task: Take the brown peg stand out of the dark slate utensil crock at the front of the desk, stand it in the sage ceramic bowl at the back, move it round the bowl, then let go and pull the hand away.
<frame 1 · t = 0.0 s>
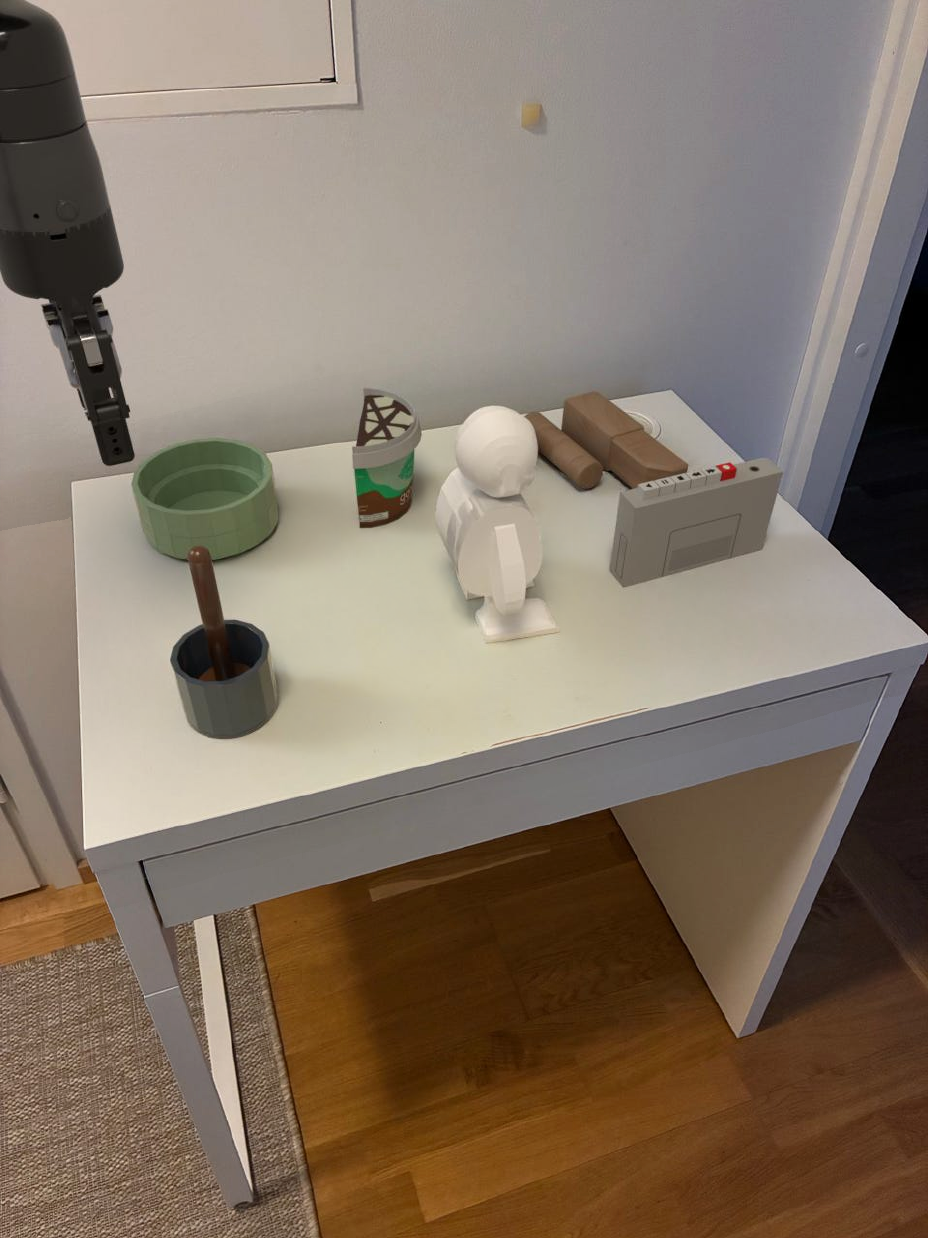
hand: (108, 432, 70), 20 cm above the table, tool pointing down, fingers open, 8 cm apart
crock: (231, 704, 78), on the table
food container: (393, 503, 100), on the table
brown peg stand: (230, 700, 78), resting on crock
bowl: (212, 524, 97), on the table
toy robot: (493, 606, 88), on the table
wooden block set: (570, 479, 103), on the table
cassette player: (686, 561, 93), on the table
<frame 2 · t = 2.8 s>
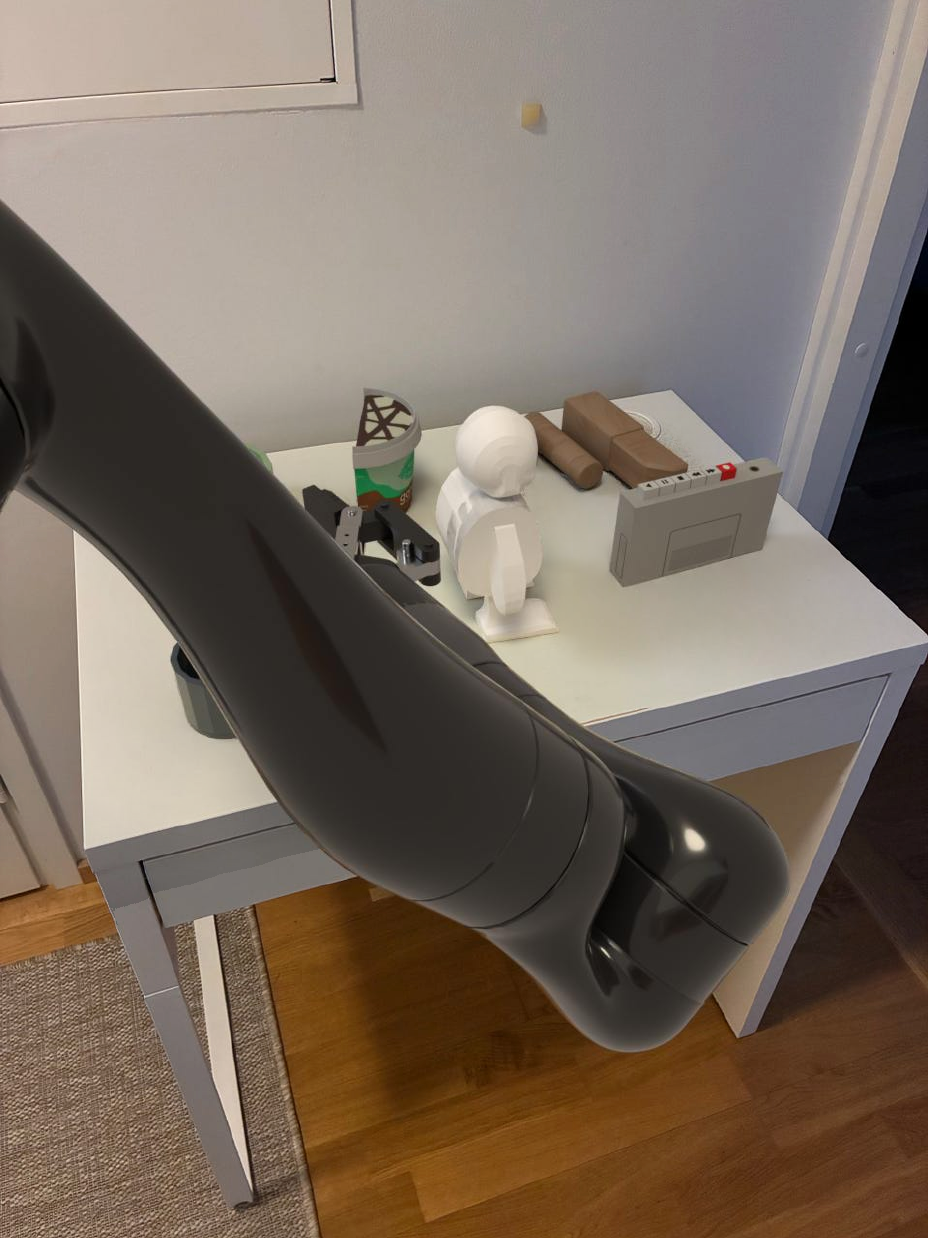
hand: (245, 524, 56), 24 cm above the table, tool horizontal, fingers open, 8 cm apart
nothing on the table moved.
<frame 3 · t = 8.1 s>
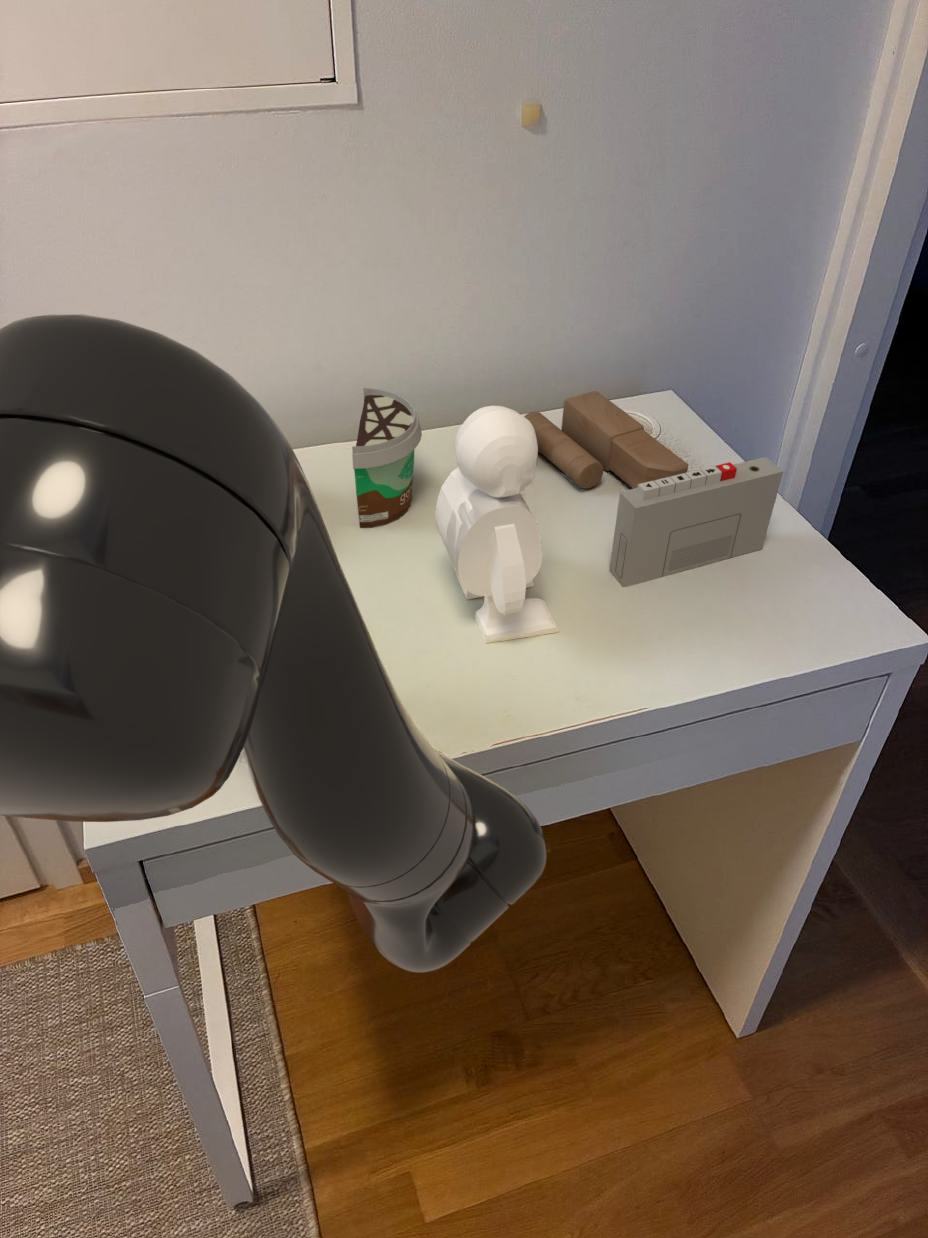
hand: (185, 549, 71), 14 cm above the table, tool horizontal, fingers closed on brown peg stand
brown peg stand: (231, 700, 78), point 1 cm above the table, touching crock, gripper
everything else where it was.
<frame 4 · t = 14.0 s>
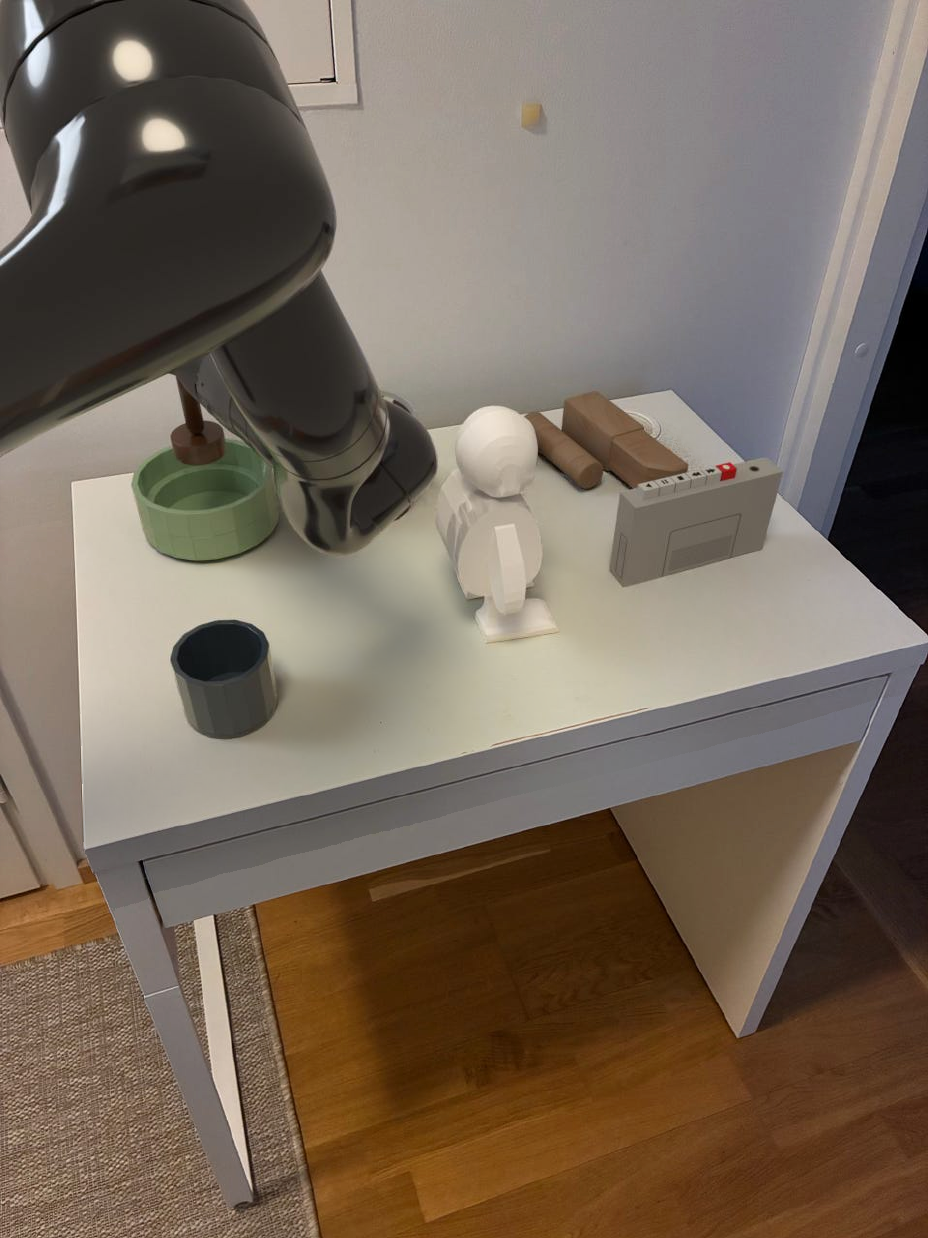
hand: (157, 300, 83), 23 cm above the table, tool horizontal, fingers closed on brown peg stand
brown peg stand: (200, 451, 90), point 9 cm above the table, touching gripper
everything else where it was.
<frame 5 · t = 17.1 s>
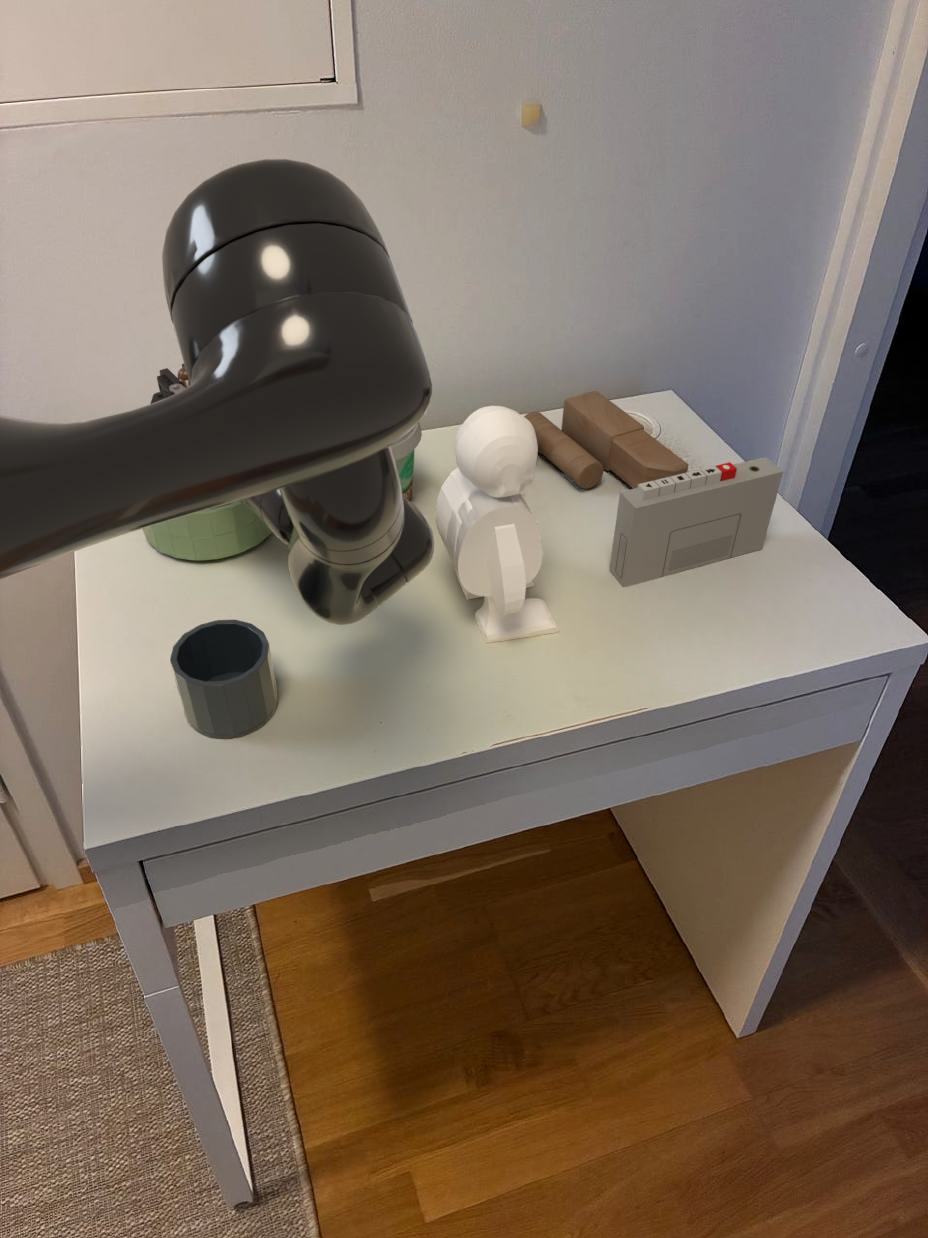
hand: (175, 375, 90), 14 cm above the table, tool horizontal, fingers closed on brown peg stand
brown peg stand: (213, 509, 97), point 1 cm above the table, touching gripper
everything else where it was.
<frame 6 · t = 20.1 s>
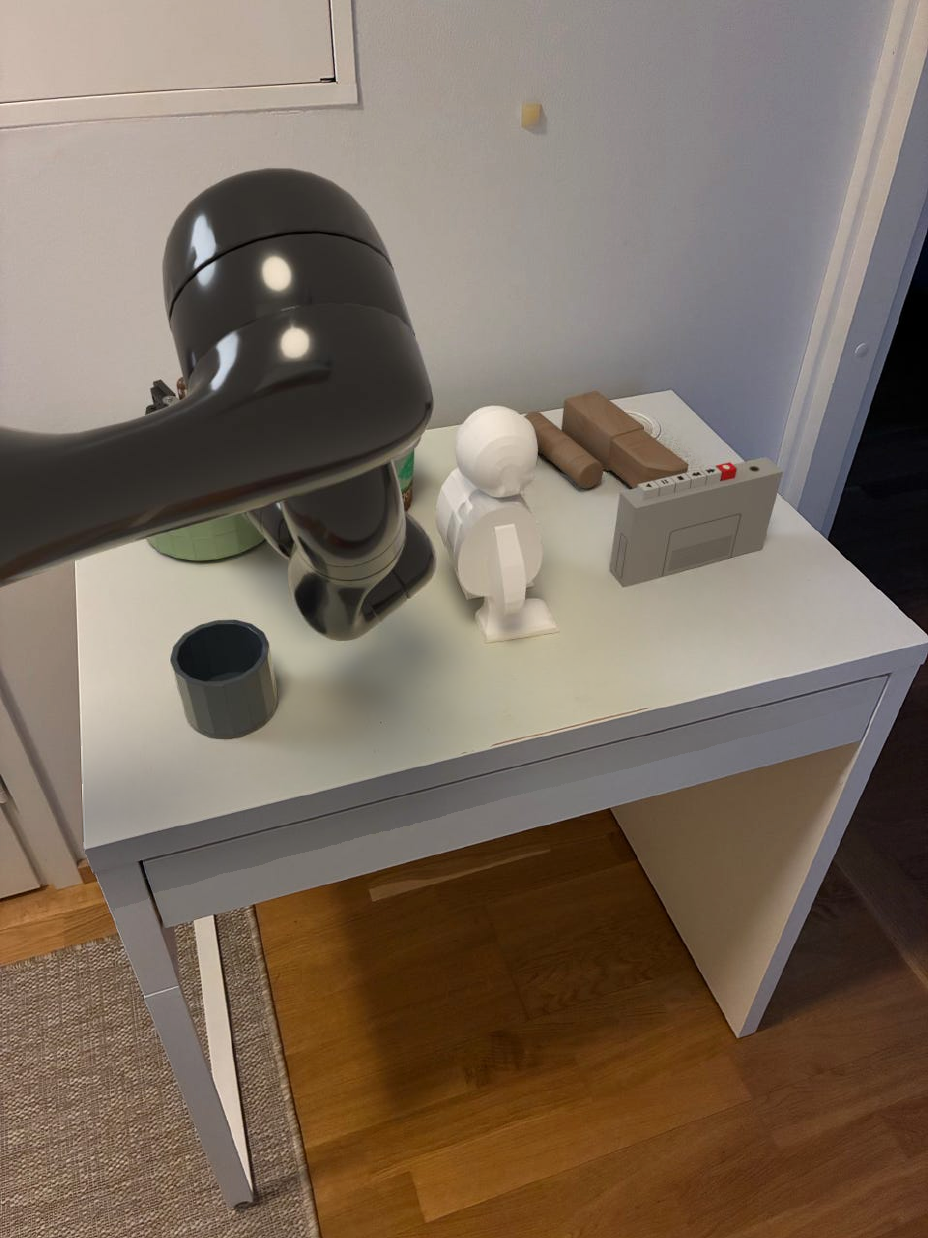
hand: (174, 385, 89), 14 cm above the table, tool horizontal, fingers closed
brown peg stand: (212, 519, 96), point 1 cm above the table, touching bowl
everything else where it was.
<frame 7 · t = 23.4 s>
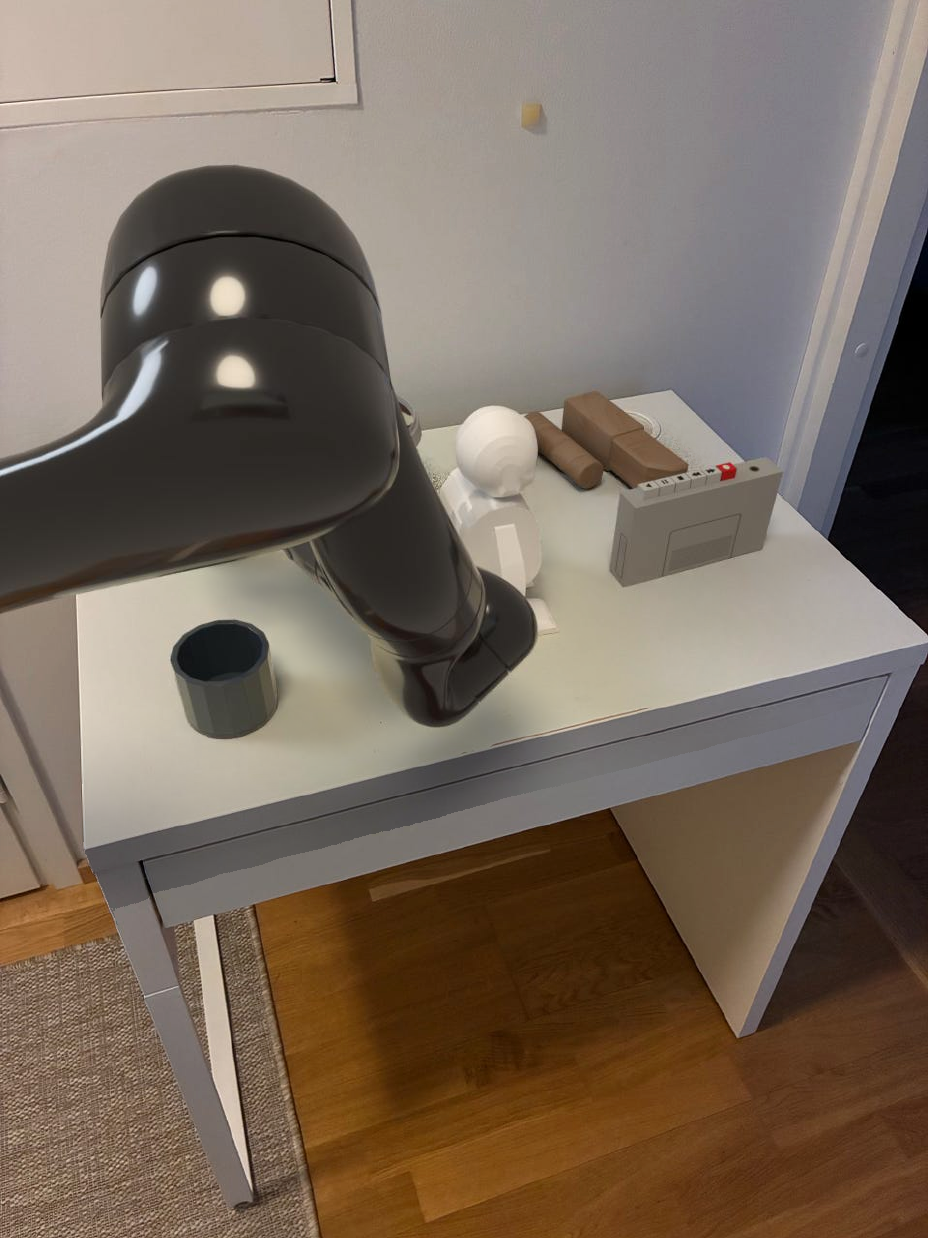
hand: (230, 428, 80), 16 cm above the table, tool horizontal, fingers open, 8 cm apart
nothing on the table moved.
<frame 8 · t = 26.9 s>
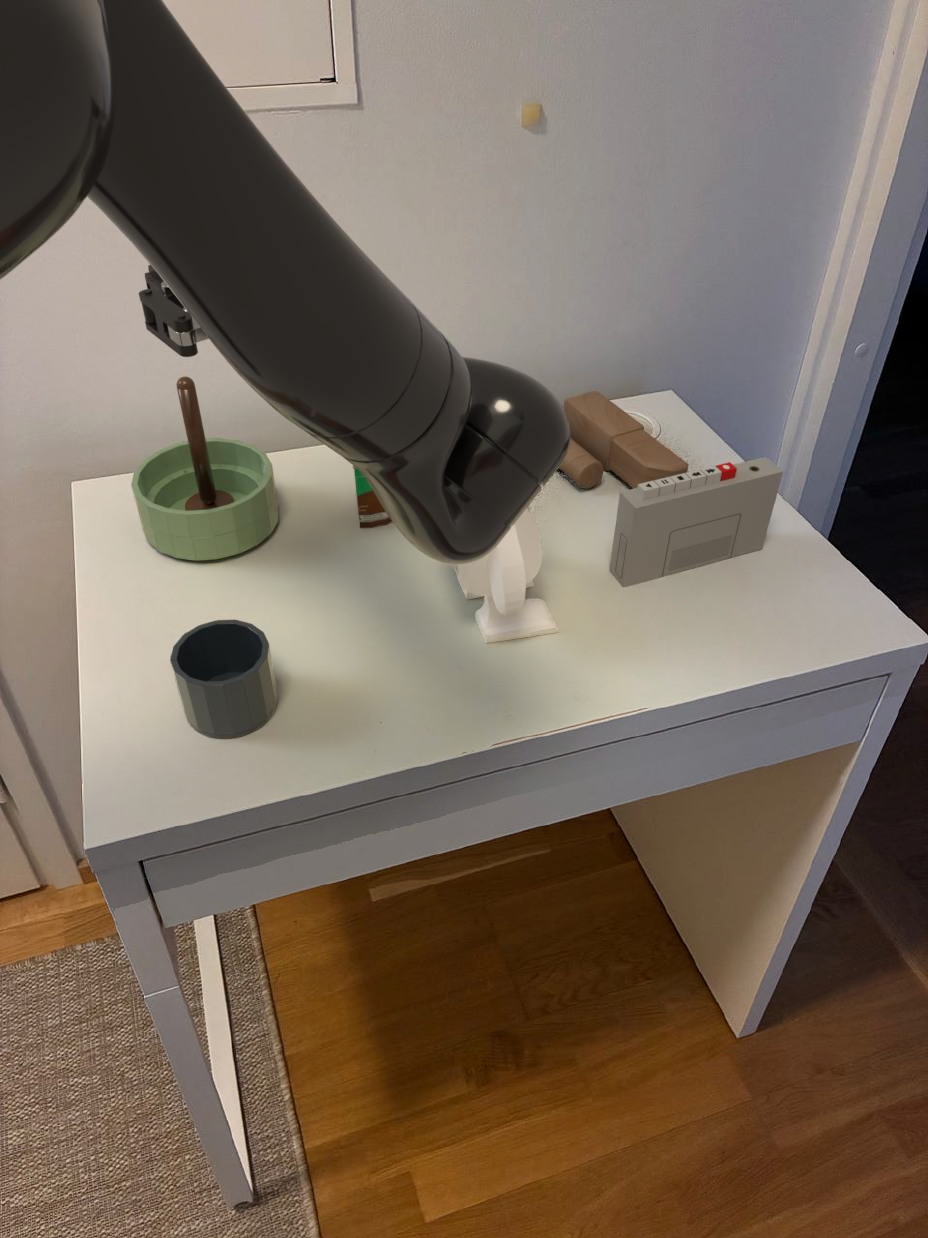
hand: (210, 264, 70), 30 cm above the table, tool horizontal, fingers open, 8 cm apart
nothing on the table moved.
at the end: brown peg stand inside the target area in the bowl (0.1 cm from its centre), point 0.6 cm above the bowl's base; brown peg stand moved 25.5 cm from its start; the gripper is holding nothing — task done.
